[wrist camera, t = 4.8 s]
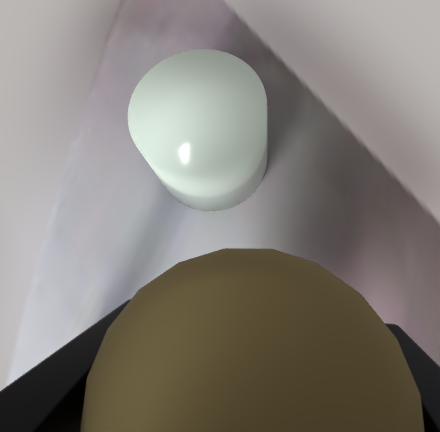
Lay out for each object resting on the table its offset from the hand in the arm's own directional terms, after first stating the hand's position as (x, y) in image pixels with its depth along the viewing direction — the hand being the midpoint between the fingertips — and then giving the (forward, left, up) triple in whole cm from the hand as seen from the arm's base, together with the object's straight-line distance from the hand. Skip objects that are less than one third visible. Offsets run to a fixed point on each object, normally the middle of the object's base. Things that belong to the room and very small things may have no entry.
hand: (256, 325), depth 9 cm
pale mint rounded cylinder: (+6, +9, -13) cm, 17 cm away
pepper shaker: (-1, -1, -7) cm, 7 cm away
